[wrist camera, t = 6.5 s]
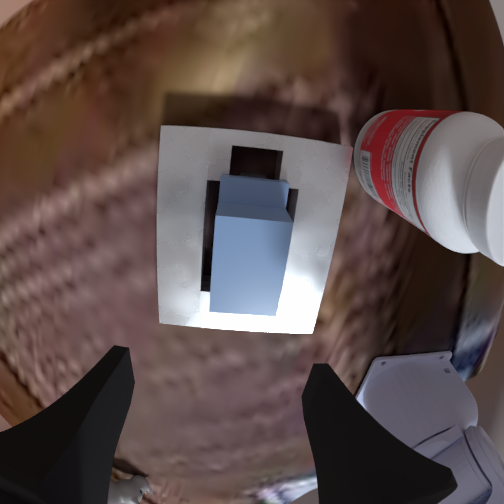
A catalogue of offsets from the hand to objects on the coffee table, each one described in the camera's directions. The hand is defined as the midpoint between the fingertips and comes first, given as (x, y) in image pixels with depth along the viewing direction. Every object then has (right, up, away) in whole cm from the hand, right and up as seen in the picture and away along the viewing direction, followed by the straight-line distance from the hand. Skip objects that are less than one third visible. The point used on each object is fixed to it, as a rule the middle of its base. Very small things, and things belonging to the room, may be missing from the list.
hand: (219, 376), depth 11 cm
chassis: (+1, +6, +8) cm, 10 cm away
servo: (+1, +6, +8) cm, 10 cm away
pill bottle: (+10, +11, +6) cm, 16 cm away
